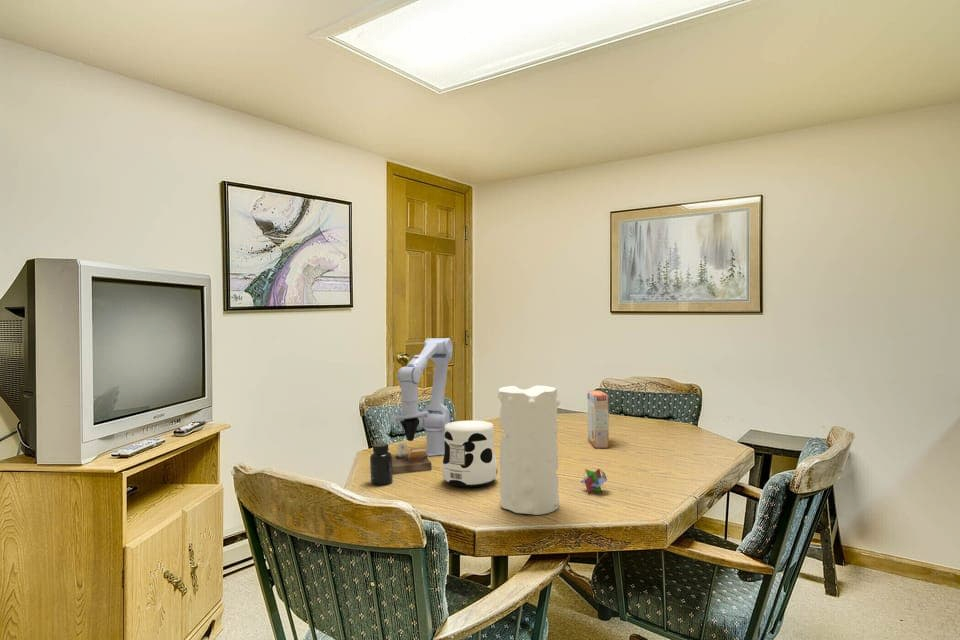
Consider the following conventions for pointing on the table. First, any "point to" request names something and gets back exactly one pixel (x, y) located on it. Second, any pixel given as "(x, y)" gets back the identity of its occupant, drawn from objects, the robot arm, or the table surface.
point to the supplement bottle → (381, 465)
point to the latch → (417, 453)
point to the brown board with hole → (409, 464)
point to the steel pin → (401, 451)
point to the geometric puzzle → (594, 480)
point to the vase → (529, 449)
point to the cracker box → (598, 419)
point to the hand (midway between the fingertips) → (410, 440)
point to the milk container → (469, 453)
